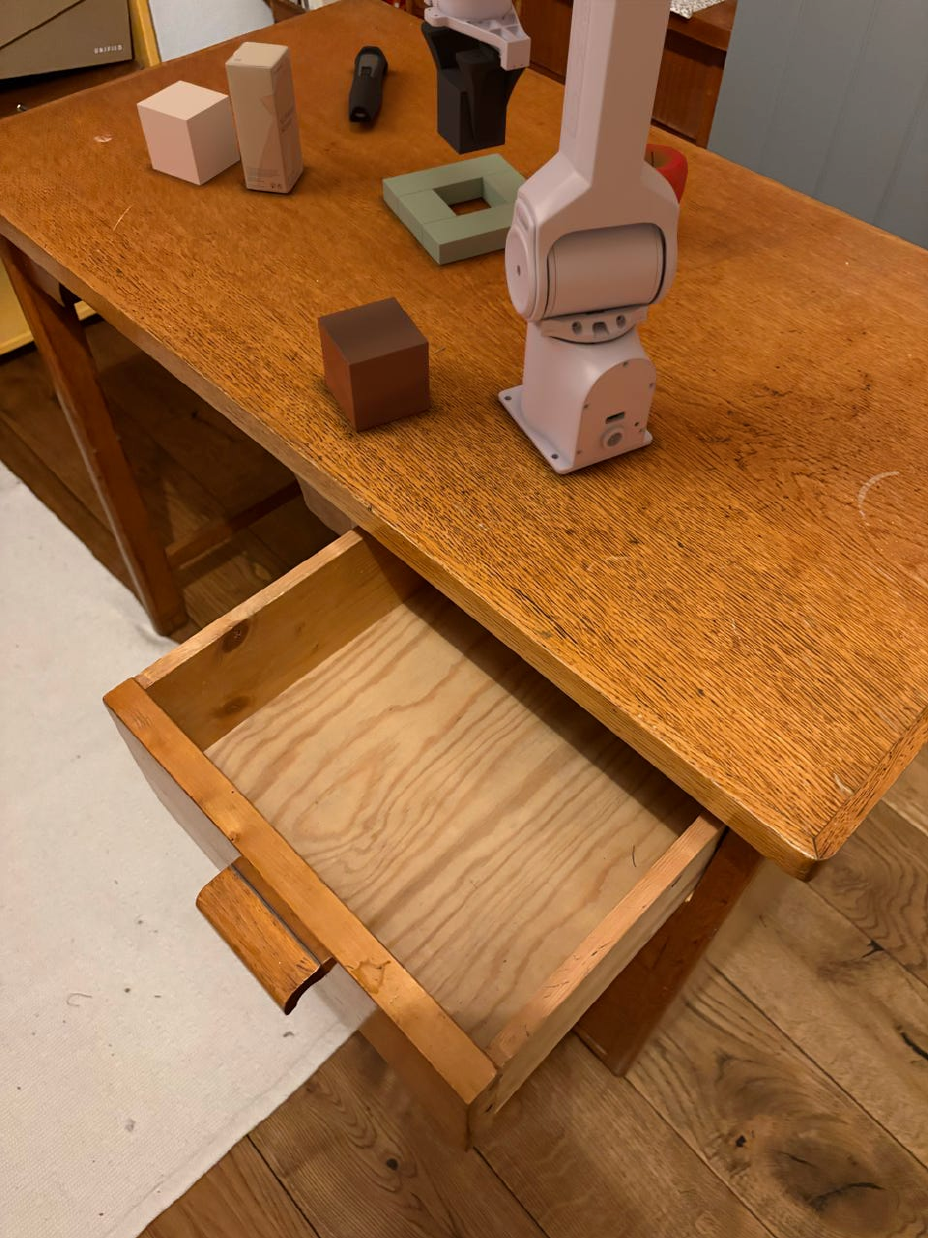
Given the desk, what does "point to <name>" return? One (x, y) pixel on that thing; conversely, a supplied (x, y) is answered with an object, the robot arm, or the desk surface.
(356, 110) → the electric trimmer
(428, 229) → the square frame
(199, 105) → the pale pink cube
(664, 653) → the desk surface
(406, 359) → the cube
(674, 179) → the apple
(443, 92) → the black block
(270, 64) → the box
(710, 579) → the desk surface
